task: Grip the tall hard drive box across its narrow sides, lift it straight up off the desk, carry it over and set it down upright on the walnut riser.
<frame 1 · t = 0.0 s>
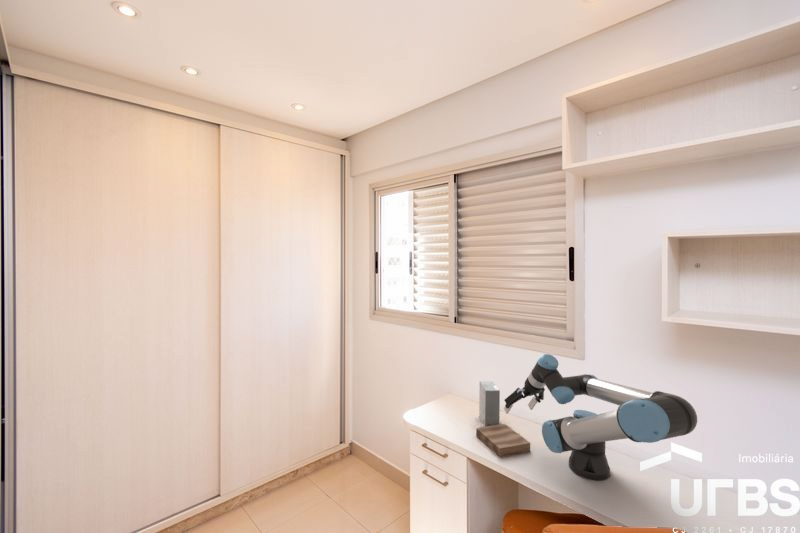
hand: (517, 409, 169), 15 cm above the table, tool tilted 35°, fingers open, 13 cm apart
hard drive box: (488, 423, 189), on the table
walnut riser: (502, 443, 167), on the table
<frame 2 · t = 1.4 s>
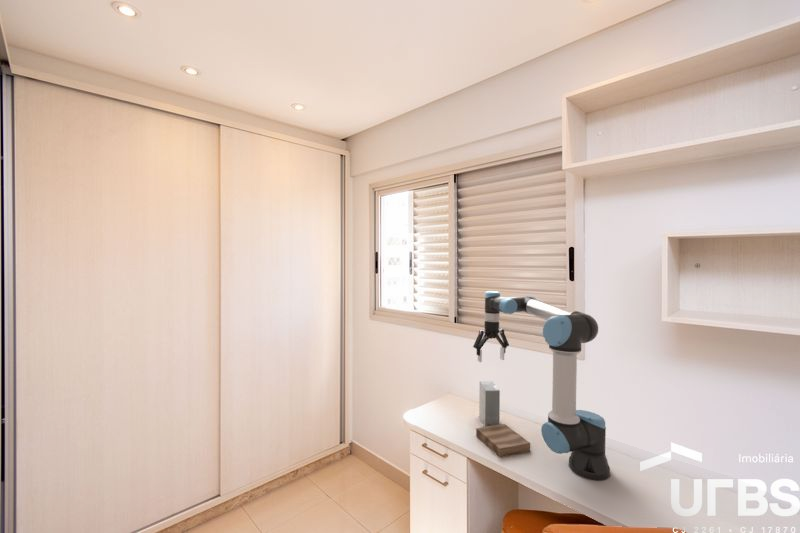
hand: (490, 360, 187), 34 cm above the table, tool pointing down, fingers open, 13 cm apart
nothing on the table moved.
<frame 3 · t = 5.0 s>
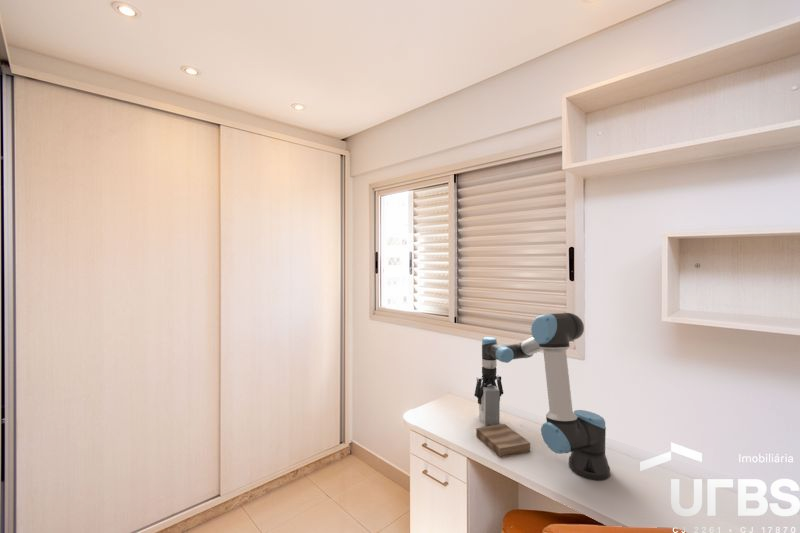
hand: (488, 408, 189), 8 cm above the table, tool pointing down, fingers closed on hard drive box, 9 cm apart
hard drive box: (488, 423, 189), on the table, touching gripper
when the fingers open (13 cm above the table, at t = 12.5 s): hard drive box drops 1 cm, resting on walnut riser.
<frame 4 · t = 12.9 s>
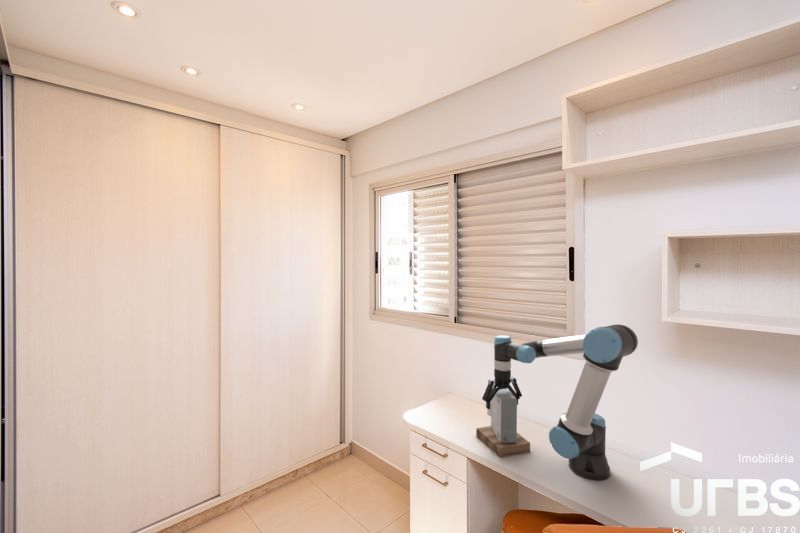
hand: (502, 413, 167), 14 cm above the table, tool pointing down, fingers open, 13 cm apart
hard drive box: (503, 435, 167), point 4 cm above the table, touching walnut riser
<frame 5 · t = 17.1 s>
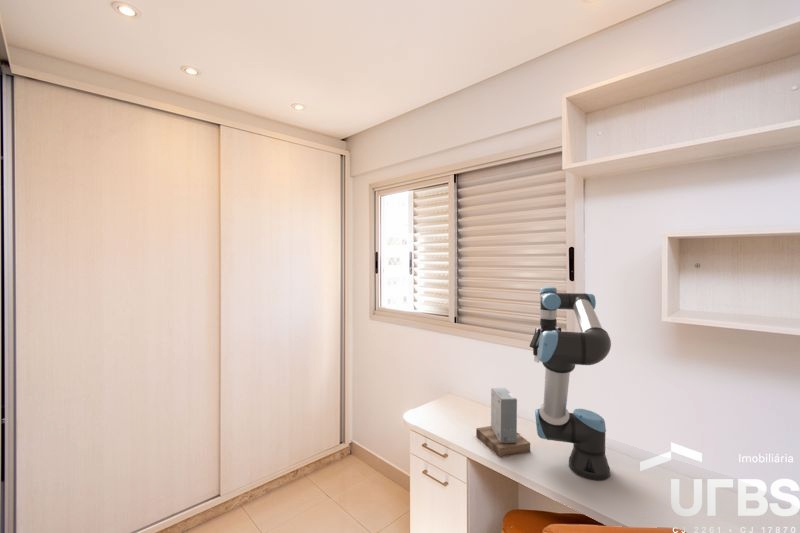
hand: (548, 360, 176), 37 cm above the table, tool pointing down, fingers open, 13 cm apart
nothing on the table moved.
at the end: hard drive box inside the target area on the walnut riser (0.4 cm from its centre), point 3.8 cm above the walnut riser's base; hard drive box tilted 0°; the gripper is holding nothing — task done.
